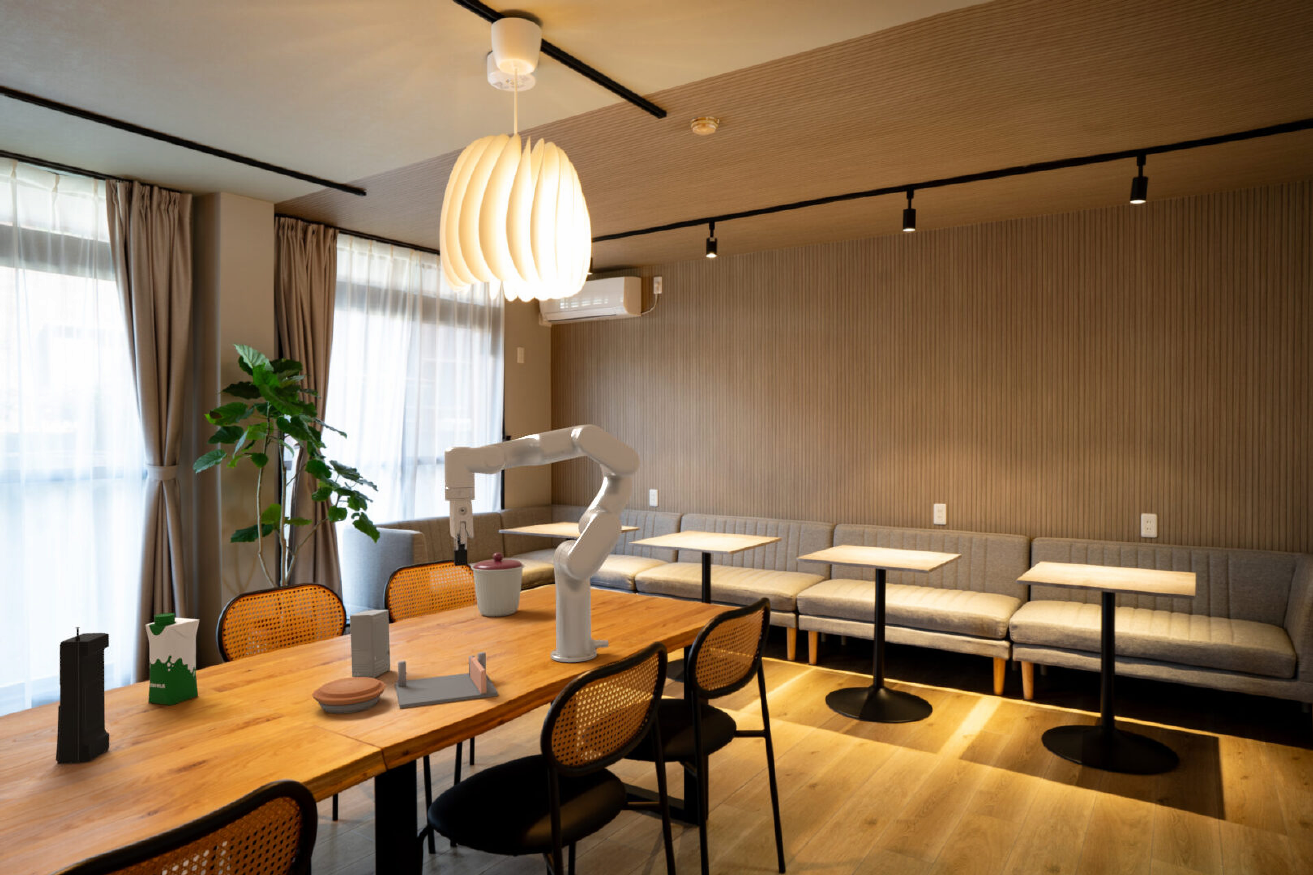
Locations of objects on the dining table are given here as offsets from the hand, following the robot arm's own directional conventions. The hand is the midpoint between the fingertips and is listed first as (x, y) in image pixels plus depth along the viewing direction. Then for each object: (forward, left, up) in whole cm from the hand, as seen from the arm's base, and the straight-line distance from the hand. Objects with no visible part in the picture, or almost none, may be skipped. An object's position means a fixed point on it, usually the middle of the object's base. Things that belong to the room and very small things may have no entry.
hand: (460, 565), depth 203 cm
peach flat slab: (-1, +18, -26) cm, 32 cm away
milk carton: (+65, -3, -27) cm, 71 cm away
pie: (+27, +18, -27) cm, 42 cm away
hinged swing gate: (+6, +16, -27) cm, 32 cm away
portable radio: (+74, +29, -27) cm, 84 cm away
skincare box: (+22, -6, -27) cm, 36 cm away
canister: (-21, -64, -27) cm, 73 cm away
